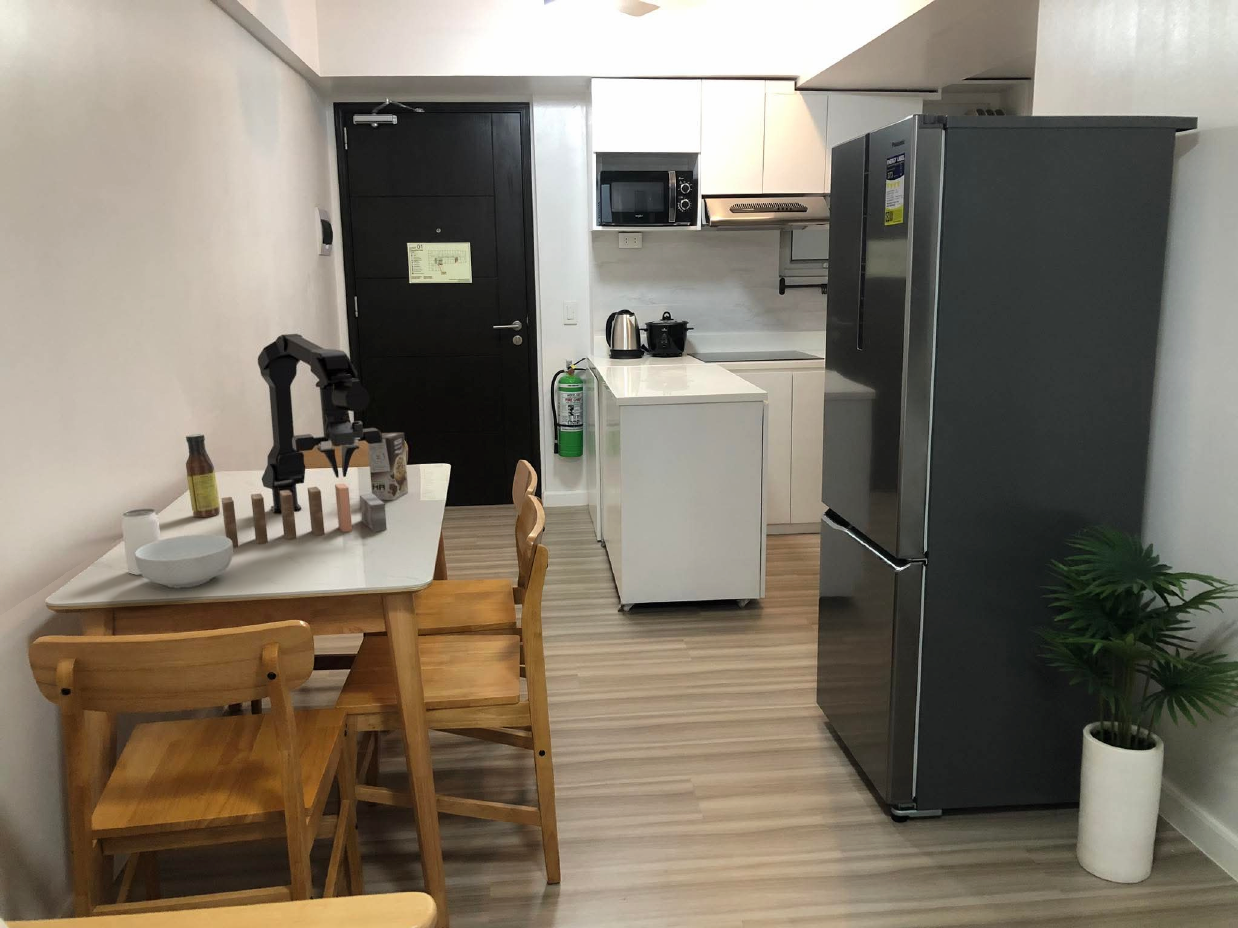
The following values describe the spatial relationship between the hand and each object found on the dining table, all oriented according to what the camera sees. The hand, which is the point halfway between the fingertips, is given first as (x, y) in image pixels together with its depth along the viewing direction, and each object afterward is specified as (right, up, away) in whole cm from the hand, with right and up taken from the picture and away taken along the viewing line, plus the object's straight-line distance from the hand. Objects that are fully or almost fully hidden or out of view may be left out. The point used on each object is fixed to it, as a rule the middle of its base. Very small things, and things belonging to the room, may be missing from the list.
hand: (340, 477), depth 216 cm
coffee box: (+3, -6, +34) cm, 34 cm away
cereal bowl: (-20, -20, -33) cm, 43 cm away
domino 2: (-16, -14, -5) cm, 22 cm away
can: (-31, -18, -25) cm, 44 cm away
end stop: (+6, -11, +5) cm, 14 cm away
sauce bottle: (-38, -10, +19) cm, 44 cm away
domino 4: (-5, -12, 0) cm, 13 cm away
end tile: (0, -12, +2) cm, 12 cm away
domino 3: (-10, -13, -3) cm, 17 cm away
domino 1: (-21, -15, -8) cm, 27 cm away
